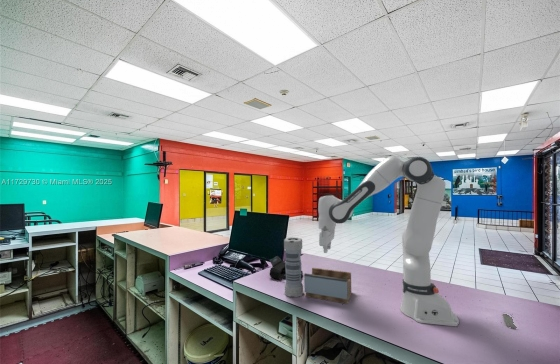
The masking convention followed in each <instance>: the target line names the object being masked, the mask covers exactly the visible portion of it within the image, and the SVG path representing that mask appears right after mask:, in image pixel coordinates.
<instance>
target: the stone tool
mask: <svg viewBox="0 0 560 364" xmlns="http://www.w3.org/2000/svg"><path fill="white" fill-rule="evenodd" d="M502 316H503V317H502V318H503V321H504V324H505V326H507V328H509V327H511V328H510V329H512V328H514V329H513V330H516V328H517V327H516V326H515V325H514V324H513V323H514V322H513V319H512V317H513V316H512V317H510V316H509V315H507V314H503V313H502Z"/></svg>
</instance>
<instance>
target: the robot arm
mask: <svg viewBox="0 0 560 364" xmlns="http://www.w3.org/2000/svg"><path fill="white" fill-rule="evenodd" d="M401 177H402V178H404V179H406V180H407V181H411V182H414V183H415V184H416V186H417V187H416V192H415V196H414V199H413V202H412V205H411V209H410V212H409V217H408V219H407V220H408V221H407V225H406V228H405V229H404V230H403V231H402V235H401V242H402V244H401V245H402V269H403V270H402V273H403V278H402V284H401V285H402V286H401V287H402V293H403V294H402V300H401V303H400V304H401V305H400V311H401V313H402V314H404V315H405V316H408V317H409V318H411V319H413V320H414V321H416V322H417V323H420V324H429V325H441V326H449V327H457V326H459V324H460V323H459V322H460V321H459V320H460V319H459V317H458V315H457V314H456V313H455V312H454V311H453V310H452V307H451V305H450V303H449V302H448V300H447V299H446V298H444V297H443V296H441V294H439V292H440V290H439V288H438V287H437V285H435V284H434V283H433V282H432V281H431V280H432V279H431V276H432V275H431V263H430V261H431V260H430V252H431V249H432V246H433V243H434V238H435V233H436V229H437V223H438V219H439V215H440V211H441V210H442V205H443V202H444V199H445V193H446V182H445V181H444V180H443V179H442V178H441V177H439V176H435V173H434V170H433V167H432V164H431V163H430V160H428V159H427V158H425V157H423V156H414V157H410V158H408V160H406V161H405V160H404V161H403V160H401V159H400V158H399V157H397V156H393V155H391V156H388V157H386V158H385V159H383V160H382V161H380V162H379V163H378V164H377V165H375V166H374V167H373V168H372V169H371V170H370V171H369V172H368V173H367V174H366V175H365V177H364V178H363V180H362V181H361V182H360V184H359V185H358V186H357V187H356V188H355V189H354V190H353V191H352V192H351V193H350V194H349V195H347V197H345V198H344V199H343V200H342V199H339V198H338V197H336V196H335V195H333V194H328V195H327V194H326V195H322V196H320V197H319V199H318V209H317V211H318V229H320V231H319V234H318V236H319V237H318V244H319V246H320V247H322V250H323V253H324V254H327V253H328V250H331V246H332V241H333V240H334V239H335V232H336V231H335V229H336V226H337V225H336V224H344V223H346V222H347V221H348V219H349V218H351V217H352V216H353V215H354V214H353V213H354V210H355V208H356V207H358V206H359V205H360V204H361V203H362V202H364V200H366V199H367V198H368V197H371V196H373V195H376V194H379V193H380V192H382V191H383V190H385V189H386V188H388V187H389V186H390V185H391V184H392V183H394V181H396V180H397V179H398V178H401Z"/></svg>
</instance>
